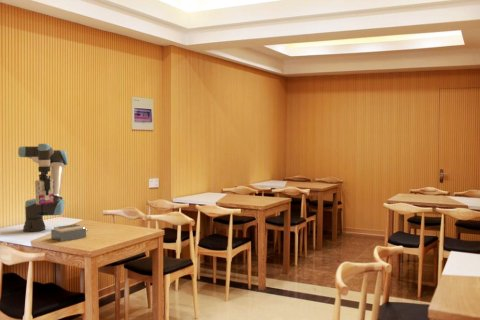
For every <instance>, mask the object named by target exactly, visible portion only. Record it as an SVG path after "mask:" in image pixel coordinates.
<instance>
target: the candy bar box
mask: <svg viewBox="0 0 480 320" xmlns="http://www.w3.org/2000/svg"><path fill="white" fill-rule="evenodd" d="M34 184H35V185H34V189H35V190H34V191H35V199H36V204H37V205H43V204H50V203H54V184H53V180H51V179H50V190H49V200H45V199H44V190H45V186H44V181H43V180H39V179H38V180H35V181H34Z"/></svg>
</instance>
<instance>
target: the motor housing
mask: <svg viewBox="0 0 480 320" xmlns="http://www.w3.org/2000/svg"><path fill="white" fill-rule="evenodd" d="M88 231H89V229H88V228H86V227H85V226H84V225H82V224H77V223H74V224H73V223H72V224H66V225H59V226H54V227H53V229H51V230H50V233H51V234H50V236H51V237H50V239H51V240H55V241H58V242H60V243H62V241H63V242H67V241H68V240H69V241H74V240H79V239H85V237H86V238H87V232H88ZM73 239H74V240H73Z"/></svg>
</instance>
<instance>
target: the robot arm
mask: <svg viewBox="0 0 480 320" xmlns="http://www.w3.org/2000/svg"><path fill="white" fill-rule="evenodd" d="M17 152H18V154H17V155H18V157H20V158H27V159H30V160H32V161H33V162H34V163H36V164H38V167H37V168H38V169H37V170H38V172H39V173H40V174H38V177H39V179H38V180H43V181H44V186H45V190H44V199H45V200H49V190H50V179H51V180H53V184H54V203H50V204H43V205H37V204H36V198H30V199H28V200H26V201H25V205H24V209H25V212H24V213H25V222H24V224H23V227H22V228H23V230H22V231H23V232H25V233H33V232H34V233H35V232H42V231H44V230H46V224H45V221H44V218H43V217H44V216H45V217H46V216H61V215H62V214H64V210H65V206H66V205H65V204H66V202H65V201H66V200H65V199H63V197H62V187H63V185H62V184H63V171H64V169H65V168H66V165H68V163H69V162H68V161H69V160H68V153H67V151H66V150H64V149H59V150H58V149H53V147H51V145H50V143H38V144H37V146H25V145H24V146H19V147H18V151H17ZM49 172H50V174H49Z"/></svg>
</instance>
